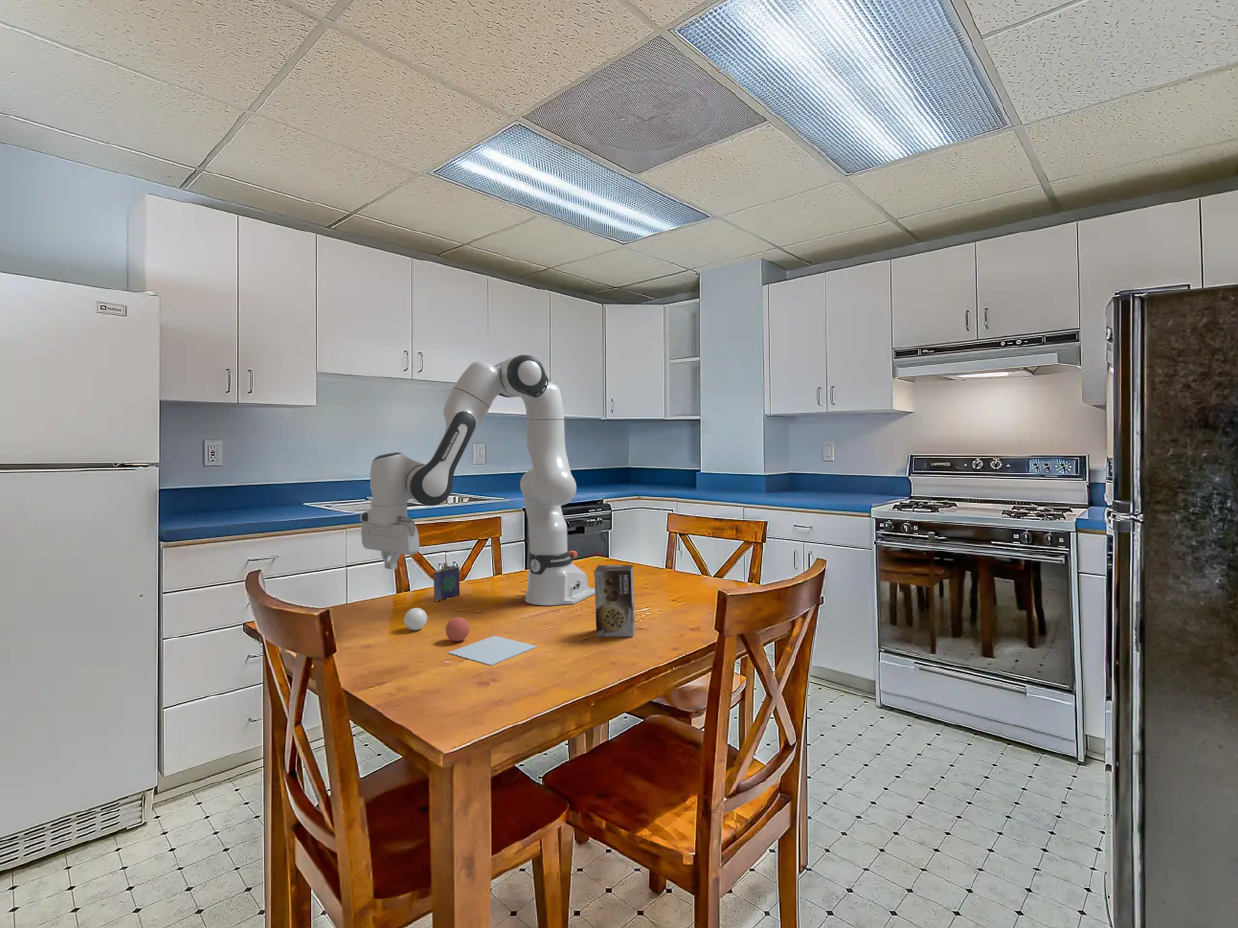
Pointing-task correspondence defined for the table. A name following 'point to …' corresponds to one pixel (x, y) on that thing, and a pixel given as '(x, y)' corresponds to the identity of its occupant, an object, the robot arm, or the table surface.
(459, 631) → the object ball
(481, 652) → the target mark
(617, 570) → the coffee box
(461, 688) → the table surface
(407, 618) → the cue ball
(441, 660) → the table surface
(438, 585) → the flask
